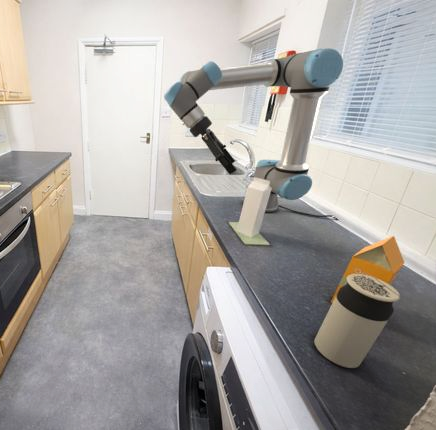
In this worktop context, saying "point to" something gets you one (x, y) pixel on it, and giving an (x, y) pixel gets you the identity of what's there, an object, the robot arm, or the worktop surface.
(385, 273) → the orange juice
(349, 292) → the travel mug
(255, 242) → the sage mat
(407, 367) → the worktop surface
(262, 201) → the milk
